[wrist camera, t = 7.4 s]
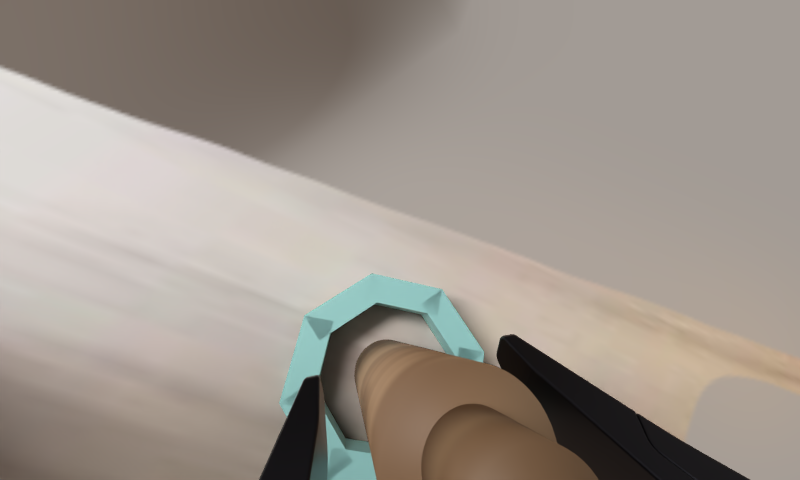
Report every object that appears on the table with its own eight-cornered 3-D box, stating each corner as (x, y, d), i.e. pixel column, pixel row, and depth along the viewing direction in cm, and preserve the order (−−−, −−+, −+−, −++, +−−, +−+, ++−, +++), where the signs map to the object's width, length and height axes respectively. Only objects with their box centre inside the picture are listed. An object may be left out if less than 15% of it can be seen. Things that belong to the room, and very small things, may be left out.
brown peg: (425, 357, 17) (688, 449, 4) (399, 418, 16) (646, 822, 3) (373, 328, 17) (470, 330, 4) (342, 388, 16) (338, 665, 3)
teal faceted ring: (478, 302, 19) (489, 299, 17) (458, 489, 16) (469, 505, 14) (321, 266, 18) (319, 261, 16) (266, 461, 15) (258, 475, 13)
